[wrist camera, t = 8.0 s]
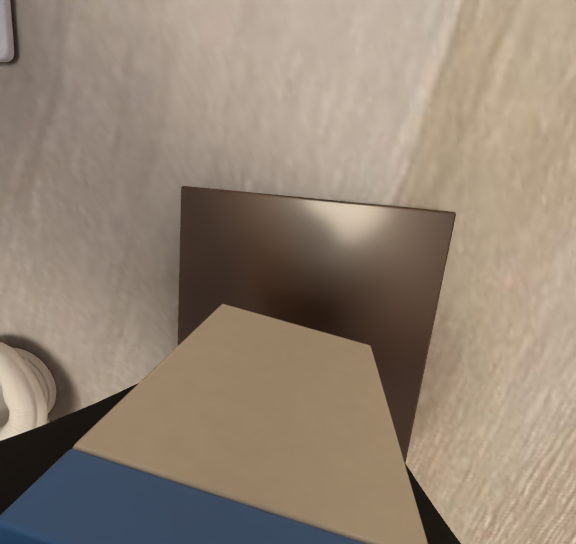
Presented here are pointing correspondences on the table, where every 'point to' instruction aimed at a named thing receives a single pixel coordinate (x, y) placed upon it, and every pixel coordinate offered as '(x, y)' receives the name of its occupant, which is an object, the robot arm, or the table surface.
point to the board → (321, 274)
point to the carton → (234, 450)
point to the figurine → (23, 391)
